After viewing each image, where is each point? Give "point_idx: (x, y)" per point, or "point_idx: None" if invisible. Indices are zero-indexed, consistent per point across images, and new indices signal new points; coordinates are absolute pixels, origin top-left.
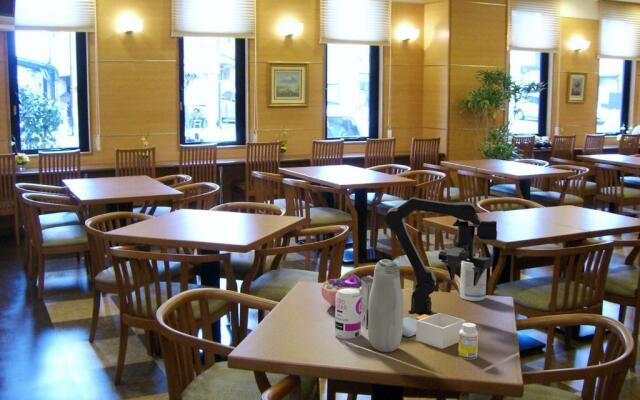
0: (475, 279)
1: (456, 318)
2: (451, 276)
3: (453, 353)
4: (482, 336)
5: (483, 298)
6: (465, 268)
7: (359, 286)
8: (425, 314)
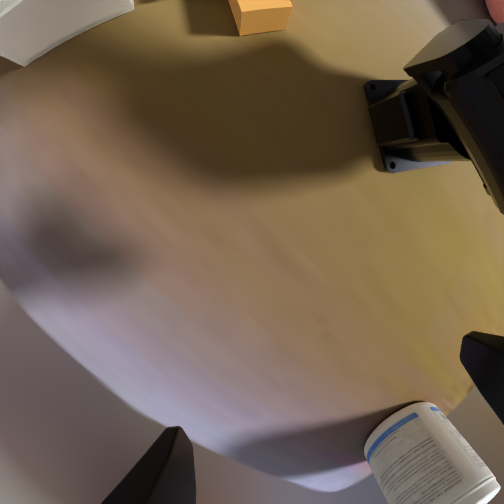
0: (123, 485)
1: (4, 11)
2: (497, 346)
3: None
4: (19, 165)
5: (364, 451)
6: (470, 482)
7: None
8: (284, 6)
